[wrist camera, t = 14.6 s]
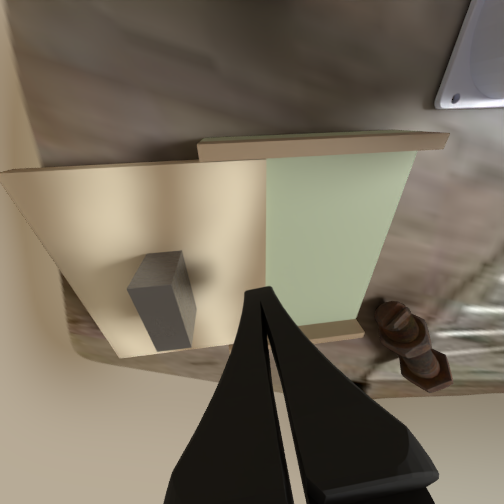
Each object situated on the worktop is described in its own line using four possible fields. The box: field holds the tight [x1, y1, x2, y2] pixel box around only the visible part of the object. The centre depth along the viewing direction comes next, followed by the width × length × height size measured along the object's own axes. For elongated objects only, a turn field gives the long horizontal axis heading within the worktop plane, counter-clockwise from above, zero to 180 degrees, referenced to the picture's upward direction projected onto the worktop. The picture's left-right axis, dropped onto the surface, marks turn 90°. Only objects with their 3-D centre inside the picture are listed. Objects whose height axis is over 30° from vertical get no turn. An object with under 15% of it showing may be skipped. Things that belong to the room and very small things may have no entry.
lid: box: [0, 159, 266, 358], centre depth 13 cm, size 12×14×4 cm
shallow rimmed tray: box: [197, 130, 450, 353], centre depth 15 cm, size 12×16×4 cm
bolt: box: [375, 301, 453, 393], centre depth 24 cm, size 6×5×15 cm
